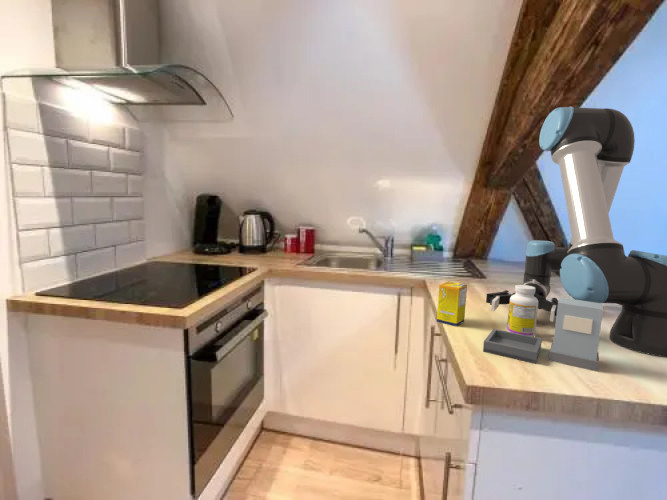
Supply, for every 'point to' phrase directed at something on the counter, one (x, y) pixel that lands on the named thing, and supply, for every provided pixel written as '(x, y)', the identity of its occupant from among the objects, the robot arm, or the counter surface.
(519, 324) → the supplement bottle
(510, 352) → the tray
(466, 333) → the counter surface
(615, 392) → the counter surface
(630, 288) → the robot arm
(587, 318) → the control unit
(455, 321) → the supplement box
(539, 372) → the counter surface
